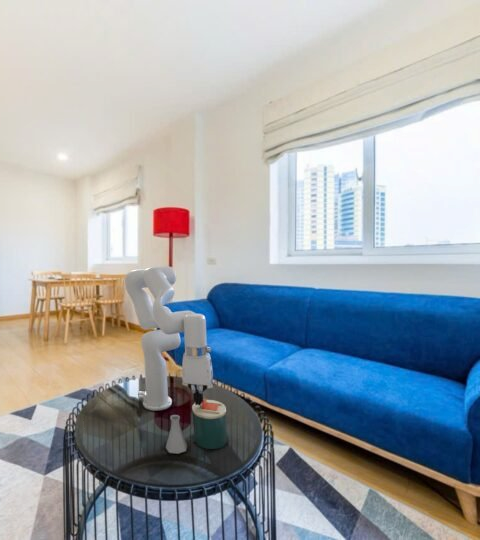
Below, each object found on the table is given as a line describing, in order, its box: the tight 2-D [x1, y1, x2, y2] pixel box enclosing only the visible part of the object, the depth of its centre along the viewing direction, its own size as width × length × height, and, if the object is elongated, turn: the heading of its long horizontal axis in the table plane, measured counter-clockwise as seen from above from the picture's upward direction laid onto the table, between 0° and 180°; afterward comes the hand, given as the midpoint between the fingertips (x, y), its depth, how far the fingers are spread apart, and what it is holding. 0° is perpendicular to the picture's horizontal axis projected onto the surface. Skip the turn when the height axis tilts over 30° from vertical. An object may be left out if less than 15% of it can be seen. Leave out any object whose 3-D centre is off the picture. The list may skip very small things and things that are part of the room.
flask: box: [165, 414, 188, 455], centre depth 94 cm, size 7×7×10 cm
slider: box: [202, 397, 218, 411], centre depth 98 cm, size 5×4×2 cm
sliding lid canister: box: [191, 399, 228, 450], centre depth 98 cm, size 11×11×11 cm
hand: (198, 403), depth 99 cm, fingers closed
